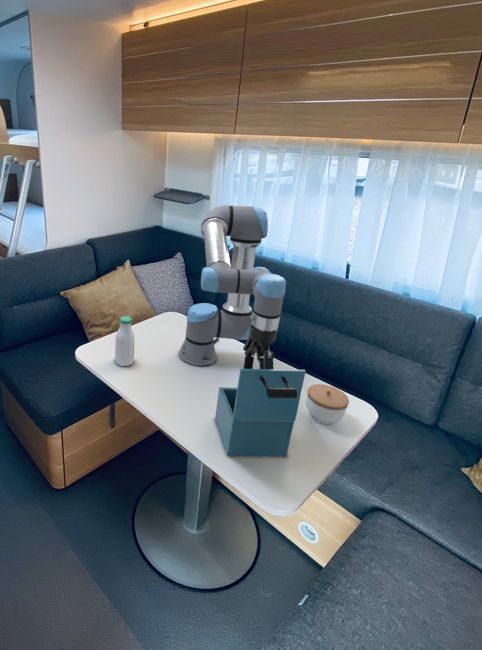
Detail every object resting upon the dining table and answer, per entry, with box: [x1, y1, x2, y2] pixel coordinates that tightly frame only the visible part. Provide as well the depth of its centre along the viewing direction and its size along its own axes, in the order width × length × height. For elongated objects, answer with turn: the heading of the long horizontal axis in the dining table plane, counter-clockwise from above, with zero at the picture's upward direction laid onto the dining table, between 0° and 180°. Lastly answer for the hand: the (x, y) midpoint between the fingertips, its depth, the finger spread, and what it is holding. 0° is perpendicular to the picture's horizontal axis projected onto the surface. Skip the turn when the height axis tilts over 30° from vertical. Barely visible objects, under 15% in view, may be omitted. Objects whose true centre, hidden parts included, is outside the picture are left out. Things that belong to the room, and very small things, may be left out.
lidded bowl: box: [305, 383, 350, 425], centre depth 139 cm, size 13×13×11 cm
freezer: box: [214, 387, 295, 457], centre depth 128 cm, size 16×18×13 cm
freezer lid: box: [233, 368, 306, 422], centre depth 112 cm, size 17×18×9 cm
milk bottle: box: [114, 315, 135, 367], centre depth 166 cm, size 8×8×20 cm
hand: (253, 387), depth 127 cm, fingers open, 13 cm apart
